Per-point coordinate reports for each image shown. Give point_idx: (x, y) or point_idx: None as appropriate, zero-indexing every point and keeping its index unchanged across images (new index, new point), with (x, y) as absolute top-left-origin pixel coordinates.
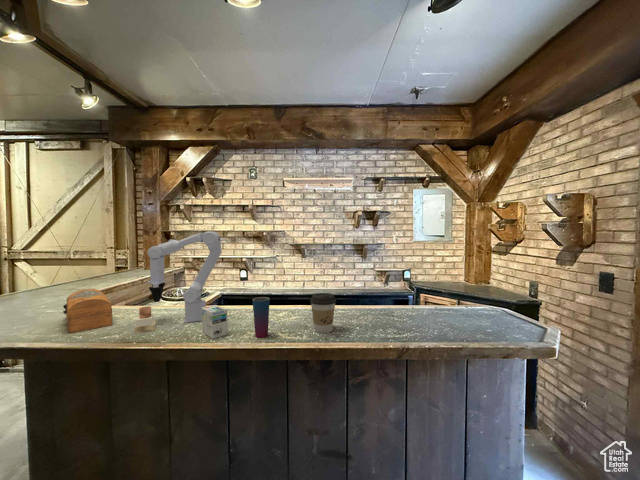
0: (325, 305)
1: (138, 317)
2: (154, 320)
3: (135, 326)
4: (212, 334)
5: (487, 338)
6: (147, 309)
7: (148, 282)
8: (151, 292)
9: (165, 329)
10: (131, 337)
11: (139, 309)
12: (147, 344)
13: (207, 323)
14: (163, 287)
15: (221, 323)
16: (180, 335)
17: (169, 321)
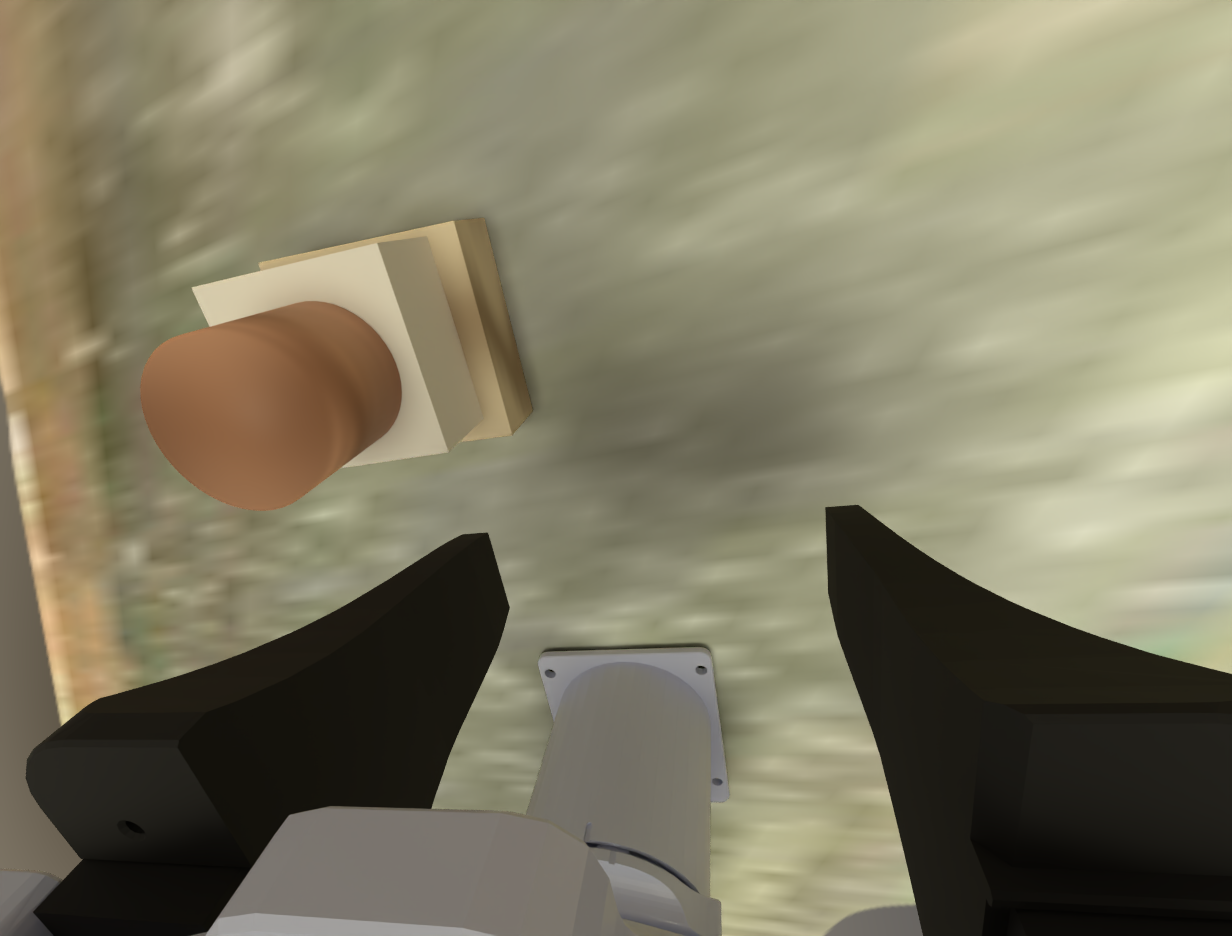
0: None
1: (311, 285)
2: (499, 424)
3: (289, 262)
4: None
5: None
6: (192, 469)
7: (249, 902)
8: (235, 660)
9: (395, 524)
10: (199, 266)
11: (164, 346)
12: (66, 459)
13: None
14: (913, 884)
15: None
16: (245, 643)
17: (655, 519)
